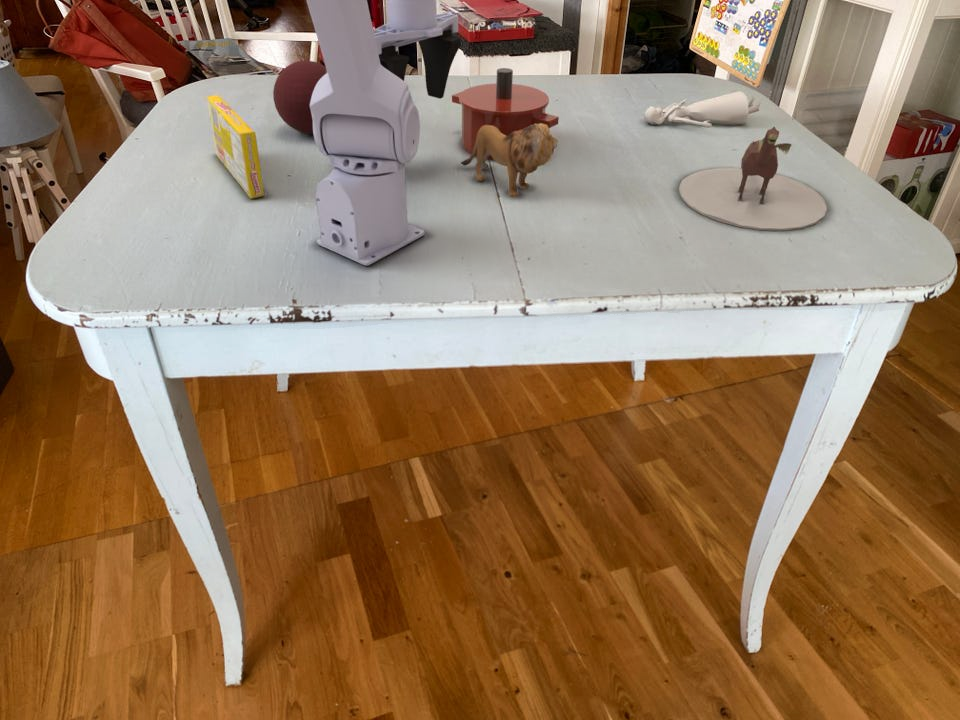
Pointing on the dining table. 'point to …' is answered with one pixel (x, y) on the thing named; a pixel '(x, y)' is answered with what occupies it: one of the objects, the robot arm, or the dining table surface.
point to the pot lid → (503, 97)
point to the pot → (497, 123)
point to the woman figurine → (706, 111)
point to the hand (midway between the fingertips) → (415, 104)
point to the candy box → (236, 146)
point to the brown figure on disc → (754, 192)
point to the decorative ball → (297, 93)
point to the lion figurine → (514, 152)
